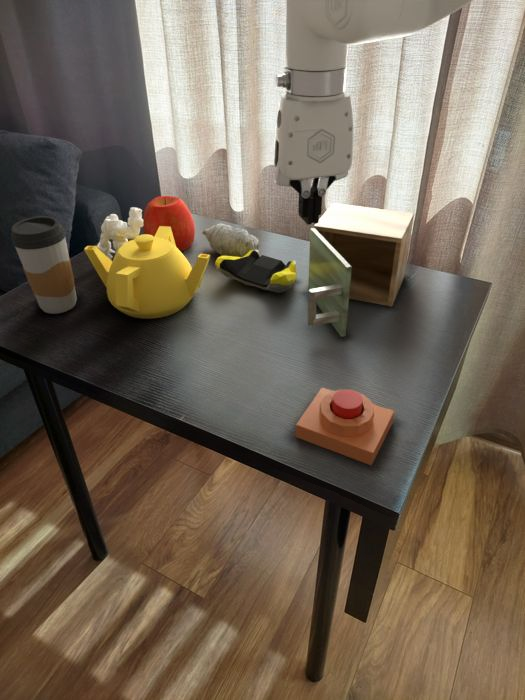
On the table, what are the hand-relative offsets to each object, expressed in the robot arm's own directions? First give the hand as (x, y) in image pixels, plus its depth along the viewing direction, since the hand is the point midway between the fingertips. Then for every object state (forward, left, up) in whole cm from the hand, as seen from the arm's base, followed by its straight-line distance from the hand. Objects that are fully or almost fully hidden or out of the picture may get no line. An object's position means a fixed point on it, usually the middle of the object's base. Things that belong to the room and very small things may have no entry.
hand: (309, 220), depth 77 cm
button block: (-24, +9, -17) cm, 31 cm away
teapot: (+19, +20, -18) cm, 33 cm away
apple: (+38, +10, -18) cm, 43 cm away
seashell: (+28, +1, -18) cm, 33 cm away
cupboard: (+5, -14, -17) cm, 23 cm away
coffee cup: (+25, +36, -18) cm, 47 cm away
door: (0, -1, -17) cm, 17 cm away
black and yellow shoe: (+14, +1, -18) cm, 23 cm away
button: (-24, +9, -14) cm, 29 cm away
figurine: (+34, +21, -18) cm, 44 cm away
